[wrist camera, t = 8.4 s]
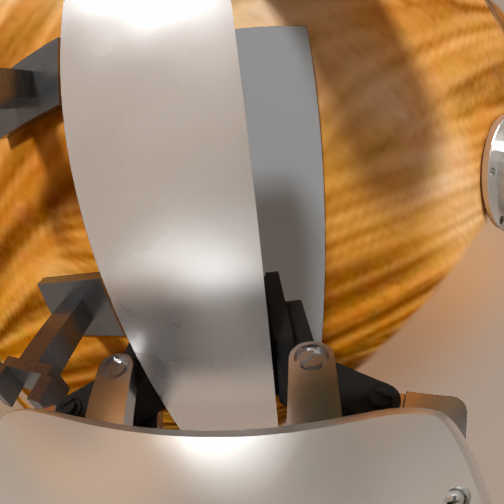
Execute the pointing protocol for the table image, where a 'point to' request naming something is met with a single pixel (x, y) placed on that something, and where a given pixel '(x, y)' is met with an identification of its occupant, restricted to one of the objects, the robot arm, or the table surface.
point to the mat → (286, 160)
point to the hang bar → (172, 199)
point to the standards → (52, 288)
